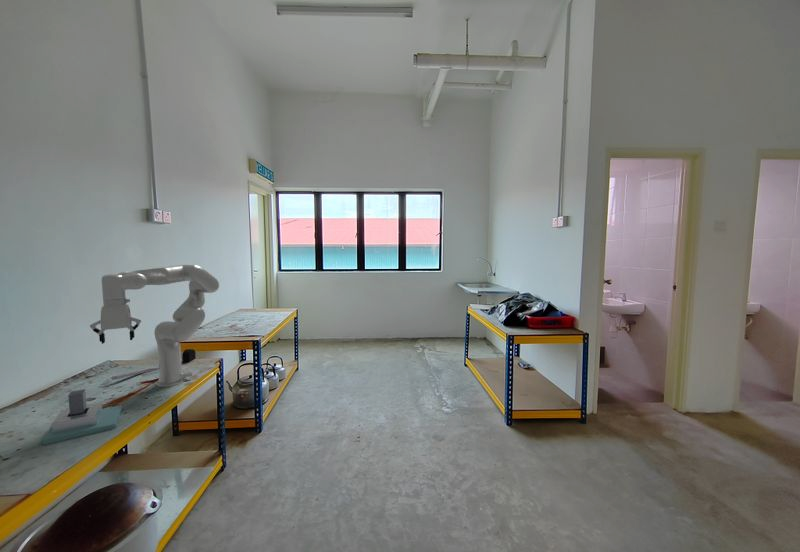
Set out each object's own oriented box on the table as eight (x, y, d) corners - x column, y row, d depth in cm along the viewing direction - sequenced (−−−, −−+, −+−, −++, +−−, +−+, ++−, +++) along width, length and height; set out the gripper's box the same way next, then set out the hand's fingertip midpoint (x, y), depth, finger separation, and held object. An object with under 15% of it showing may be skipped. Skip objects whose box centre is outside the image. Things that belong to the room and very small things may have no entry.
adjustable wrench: (113, 380, 170) (113, 376, 170) (105, 379, 172) (105, 375, 172) (163, 369, 193) (163, 365, 193) (155, 368, 195) (155, 365, 195)
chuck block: (122, 409, 146) (121, 396, 145) (115, 428, 131) (114, 413, 130) (58, 422, 135) (56, 408, 135) (42, 445, 120) (41, 428, 119)
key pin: (87, 418, 134) (85, 389, 133) (85, 422, 131) (82, 393, 130) (73, 421, 132) (71, 391, 131) (71, 425, 129) (68, 395, 128)
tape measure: (189, 364, 201) (188, 351, 200) (181, 364, 200) (180, 351, 200) (202, 356, 215) (201, 344, 214) (195, 356, 215) (194, 344, 214)
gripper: (140, 299, 156) (143, 336, 157) (90, 303, 146) (93, 342, 148) (138, 302, 149) (141, 340, 151) (86, 306, 140) (89, 346, 142)
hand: (117, 341), depth 149 cm, fingers open, 9 cm apart
